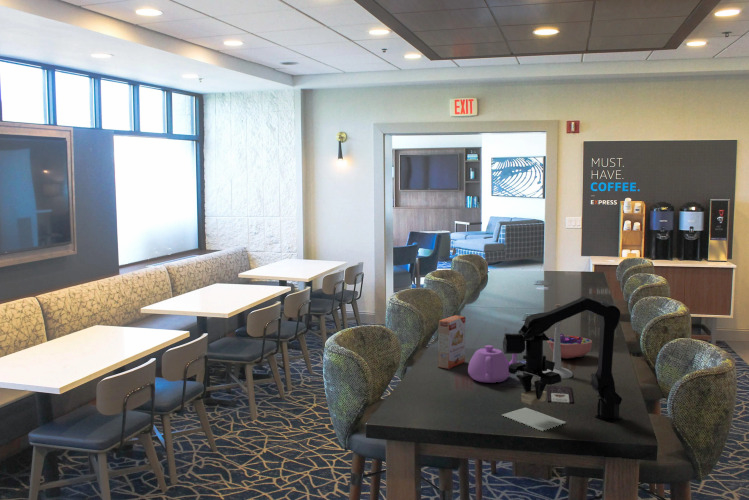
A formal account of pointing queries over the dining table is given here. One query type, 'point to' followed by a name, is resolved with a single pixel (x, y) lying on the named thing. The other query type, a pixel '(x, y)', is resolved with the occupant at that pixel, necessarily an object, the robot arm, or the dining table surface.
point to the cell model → (572, 346)
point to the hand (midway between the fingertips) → (533, 397)
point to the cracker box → (451, 341)
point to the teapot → (490, 365)
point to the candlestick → (558, 353)
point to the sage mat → (534, 419)
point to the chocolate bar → (559, 394)
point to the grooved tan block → (532, 397)
